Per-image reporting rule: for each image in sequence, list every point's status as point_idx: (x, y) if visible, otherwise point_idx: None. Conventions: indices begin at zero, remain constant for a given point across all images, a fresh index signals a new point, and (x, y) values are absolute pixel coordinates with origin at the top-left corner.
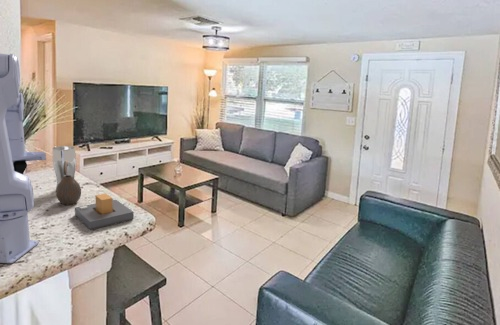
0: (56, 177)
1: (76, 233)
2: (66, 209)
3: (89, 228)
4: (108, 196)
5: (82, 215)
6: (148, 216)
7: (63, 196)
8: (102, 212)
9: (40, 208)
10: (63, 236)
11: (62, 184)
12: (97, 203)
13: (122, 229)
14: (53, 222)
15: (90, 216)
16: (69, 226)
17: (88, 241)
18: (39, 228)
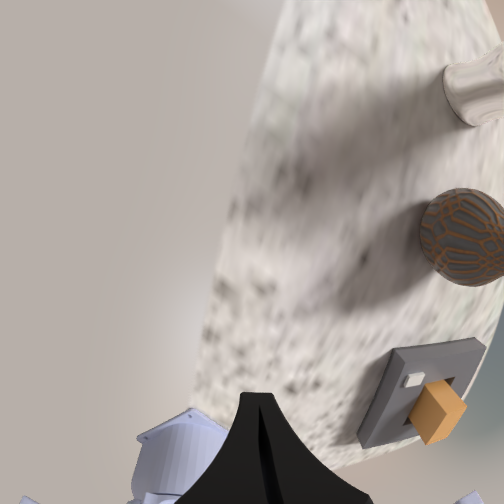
0: (480, 69)
1: (328, 436)
2: (405, 288)
3: (358, 431)
4: (451, 427)
5: (380, 413)
6: None
7: (437, 268)
8: (412, 421)
9: (354, 222)
10: (301, 438)
11: (475, 265)
12: (430, 411)
13: (392, 444)
14: (327, 368)
15: (384, 428)
16: (340, 405)
17: (322, 463)
18: (280, 386)
